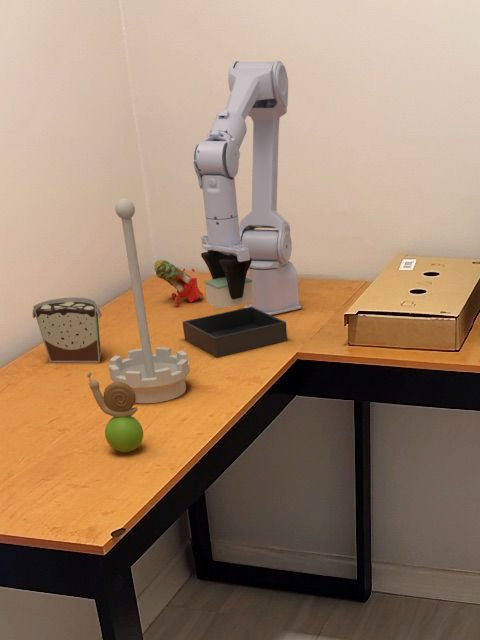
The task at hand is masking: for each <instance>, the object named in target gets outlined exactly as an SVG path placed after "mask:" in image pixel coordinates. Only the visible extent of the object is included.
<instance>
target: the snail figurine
mask: <svg viewBox="0 0 480 640" xmlns="http://www.w3.org/2000/svg"><path fill="white" fill-rule="evenodd" d="M91 376H92V372H91V371H88V372H87V373H86V377H87V378H88V381H89V382H88V385H89V389H90V390H91V392H92V394H93V395H92V396H93V397H94V399H95V402H96V404H97V406H98V407H99V408H100V410H101V411H102V412H103V413H104V414H106V415H108V416H111V417H112V418H110V419H109V420H108V421H107V423H106V425H105V428H104V435H105V439H106V442H107V443H108V445H109V446H110V447H111V448H112V449H113V450H115V451H117V452H120V453H130V452H132V451H135V450H136V449H137V448H139V447H140V445H141V444H142V442H143V439H144V429H143V427H142V423H140V421H139V420H138V419H136V417H134V415H135V413H136V412H137V411H138V407H137V406H135V404H136V403H135V401H136V396H135V393H134V391H133V389H132V388H131V387H130V386H129V385H128V384H126V383H123V382H111V383H109V384H108V385H107V386H106V387H105V389H104V391H103V393H102V392H101V390H100V383H99V381H98V380H96V379H91ZM134 406H135V407H134Z"/></svg>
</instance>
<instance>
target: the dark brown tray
mask: <svg viewBox="0 0 480 640" xmlns="http://www.w3.org/2000/svg"><path fill="white" fill-rule="evenodd" d="M182 328H183V336H184V341H186V342H188V343H190V344H192V345H193V346H195V347H197V348H199V349H201V350H203V351H204V352H206V353H207V354H210V355H212V356H214V358H220V357H225V356H228V355H233V354H237V353H241V352H246V351H250V350H254V349H258V348H263V347H267V346H271V345H275V344H279V343H283V342H287V341H288V331H287V322H286V321H284V320H283V319H281V318H278V317H276V316H274V315H269V314H267V313H265V312H262V311H260V310H258V309H256V308H254V307H248V308H244V307H243V308H239V309H235V310H229V311H225V312H220V313H216V314H211V315H206V316H202V317H197V318H192V319H189V320H183V321H182Z"/></svg>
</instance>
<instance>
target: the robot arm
mask: <svg viewBox="0 0 480 640" xmlns="http://www.w3.org/2000/svg"><path fill="white" fill-rule="evenodd" d="M227 75H228V76H227V77H228V78H227V79H228V89H229V92H230V94H229V97H228V100H227V104H226V107H225V109H222V110H220V111H219V112H217V114H216V116H215V118H214V120H213V122H212V124H211V127H210V129H209V131H208V133H207V136H206V137H205V140H201V141H199V142H198V143H197V144H196V145H195V147H194V150H193V168H194V172H195V174H196V177H197V180H198V186H199V189H201V190H202V196H203V197H202V198H203V207H204V216H205V223H206V224H205V225H206V232H207V234H205V235H201V237H200V239H201V245H202V249H203V250H205V252H201V253H200V256H201V258H202V260H203V261H204V263H205V264H206V267H207V269H208V271H209V273H210V276H211V280H212V279H217V278H222V277H226V279H227V283H228V288H229V293H230V296H231V299H238V298H242V297H243V292H244V285H245V279H246V278H247V274H248V278H249V279H251V280H252V292H253V302H251V303H250V304H247V305H244V306H243V308H248V307H254V308H256V309H258V310H260V311H262V312H265V313H267V314H269V315H271V316H274V315H279V314H283V313H287V312H292V311H295V310H300V309H301V310H302V305H301V304H300V291H299V279H298V278H299V277H298V272H297V269H296V267H295V265H294V263H292V261H290V259H291V256H292V250H293V248H292V247H293V245H292V242H293V241H292V237H291V226H290V224H289V222H288V221H287V220H286V218H284V217H283V216H282V215H281V214H279V213H278V212H277V211H278V210H277V208H278V176H279V175H278V174H279V173H278V171H279V169H278V168H279V138H280V137H279V136H280V135H279V134H280V133H279V132H280V120H281V117H283V116H284V115H286V114H287V113H288V105H289V77H288V73H287V69H286V66H285V65H284V63H283V61H282V60H275V61H238V60H234V61H232V63H231V65H230V67H229V69H228V74H227ZM247 117H250V119H251V120H252V124H253V125H252V126H253V127H252V132H253V133H252V171H251V172H252V174H251V175H252V176H251V177H252V178H251V210H250V212H249V213H247V214H246V215H245V216H244V217H243V218H242V219H241V220H239V211H238V201H237V190H236V189H237V188H236V179H235V177H237V175H238V173H239V166H240V158H241V152H240V149H241V146H242V144H243V142H244V139H245V137H246V135H247V131H248V130H247V129H248V127H247V123H246V119H247Z"/></svg>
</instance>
